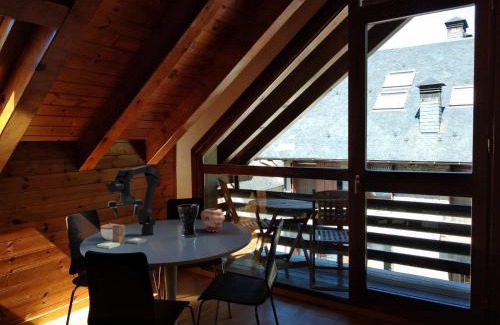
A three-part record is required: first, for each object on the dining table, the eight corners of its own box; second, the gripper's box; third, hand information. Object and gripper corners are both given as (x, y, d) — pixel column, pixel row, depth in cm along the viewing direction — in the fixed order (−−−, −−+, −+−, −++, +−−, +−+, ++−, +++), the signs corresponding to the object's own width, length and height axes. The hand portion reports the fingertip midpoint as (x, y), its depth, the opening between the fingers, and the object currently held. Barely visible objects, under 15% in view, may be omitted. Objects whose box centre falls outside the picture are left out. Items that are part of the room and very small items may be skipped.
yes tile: (107, 243, 217) (107, 241, 217) (119, 245, 213) (119, 242, 213) (97, 246, 211) (97, 244, 211) (109, 248, 207) (109, 246, 207)
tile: (135, 239, 227) (135, 237, 227) (147, 241, 223) (147, 238, 223) (125, 242, 220) (125, 240, 220) (137, 244, 216) (137, 241, 216)
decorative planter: (193, 230, 251) (193, 208, 250) (206, 227, 261) (205, 206, 261) (218, 234, 240) (218, 211, 239) (230, 230, 250) (230, 208, 250)
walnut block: (118, 241, 222) (117, 224, 221) (124, 242, 219) (124, 225, 219) (112, 243, 218) (112, 225, 218) (119, 244, 216) (119, 226, 216)
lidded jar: (113, 241, 223) (113, 224, 223) (96, 240, 225) (96, 224, 225) (123, 237, 234) (123, 221, 233) (107, 236, 236) (106, 220, 235)
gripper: (109, 193, 211) (110, 222, 211) (144, 191, 219) (145, 219, 219) (107, 191, 221) (108, 218, 221) (141, 189, 229) (141, 216, 229)
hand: (126, 218), depth 223 cm, fingers open, 9 cm apart
